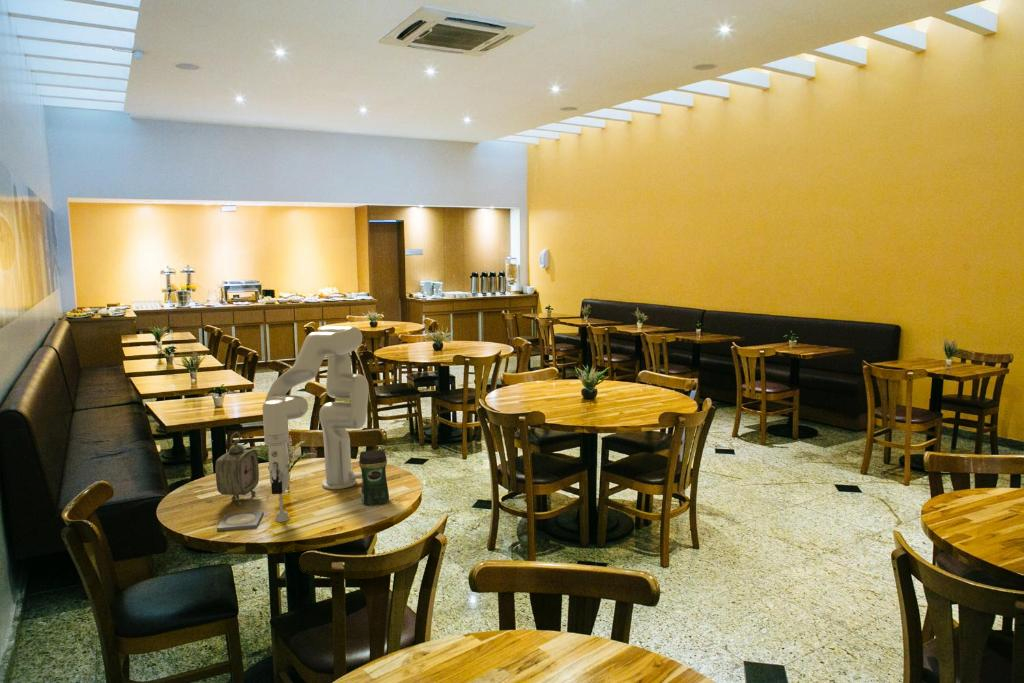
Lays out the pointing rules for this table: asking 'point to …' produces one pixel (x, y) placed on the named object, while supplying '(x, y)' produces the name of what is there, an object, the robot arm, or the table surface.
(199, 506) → the table surface
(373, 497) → the coffee jar
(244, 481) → the tabletop clock
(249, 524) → the plate
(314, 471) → the table surface
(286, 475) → the chalice
